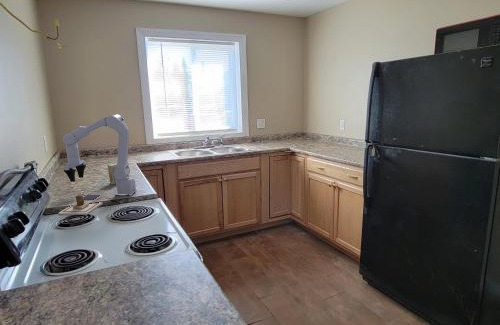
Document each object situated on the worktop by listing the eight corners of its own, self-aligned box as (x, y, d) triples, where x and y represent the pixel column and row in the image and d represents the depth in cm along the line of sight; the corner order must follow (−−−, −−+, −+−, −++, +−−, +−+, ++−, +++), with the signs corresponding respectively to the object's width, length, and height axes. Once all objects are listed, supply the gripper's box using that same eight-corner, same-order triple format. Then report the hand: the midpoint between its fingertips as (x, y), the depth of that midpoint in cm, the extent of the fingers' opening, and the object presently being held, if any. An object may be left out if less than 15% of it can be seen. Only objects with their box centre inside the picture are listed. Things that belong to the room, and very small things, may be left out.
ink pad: (101, 197, 169) (101, 194, 168) (93, 202, 161) (93, 199, 161) (87, 197, 169) (87, 194, 169) (79, 202, 161) (78, 199, 161)
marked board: (102, 203, 159) (102, 202, 158) (87, 214, 145) (86, 212, 145) (76, 203, 159) (76, 201, 159) (58, 214, 146) (58, 212, 146)
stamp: (88, 205, 154) (87, 194, 153) (82, 209, 149) (80, 197, 148) (79, 205, 155) (77, 194, 153) (73, 209, 150) (71, 197, 148)
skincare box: (119, 181, 198) (117, 162, 195) (122, 182, 195) (120, 163, 192) (109, 183, 193) (107, 164, 190) (112, 184, 190) (110, 165, 188)
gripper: (74, 152, 173) (78, 175, 177) (57, 158, 159) (61, 183, 163) (86, 152, 173) (89, 175, 176) (70, 158, 159) (74, 183, 162)
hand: (77, 179), depth 169 cm, fingers open, 7 cm apart
